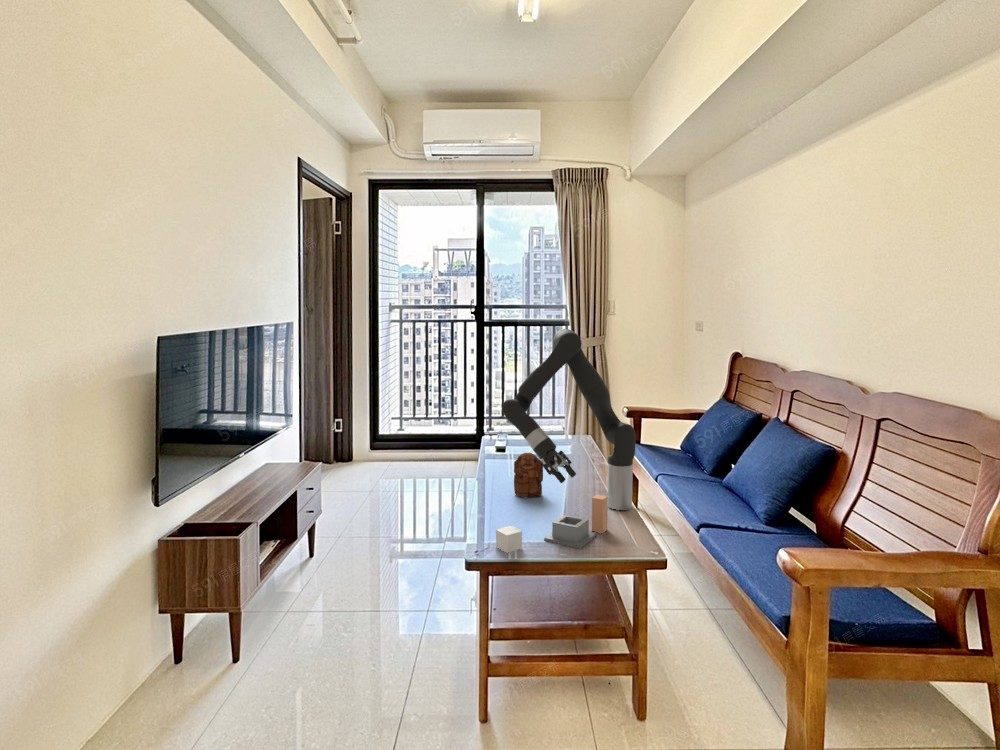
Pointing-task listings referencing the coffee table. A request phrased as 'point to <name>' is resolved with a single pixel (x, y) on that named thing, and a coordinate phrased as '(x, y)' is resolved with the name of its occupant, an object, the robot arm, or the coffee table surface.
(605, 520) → the orange rectangular block
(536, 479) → the wooden figurine
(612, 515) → the coffee table surface
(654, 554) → the coffee table surface
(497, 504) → the coffee table surface
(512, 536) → the white cube
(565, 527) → the well
